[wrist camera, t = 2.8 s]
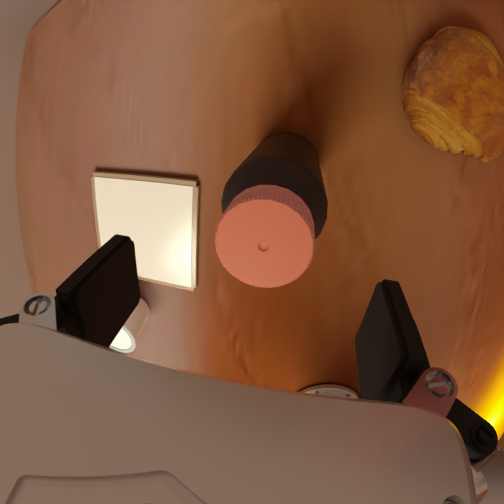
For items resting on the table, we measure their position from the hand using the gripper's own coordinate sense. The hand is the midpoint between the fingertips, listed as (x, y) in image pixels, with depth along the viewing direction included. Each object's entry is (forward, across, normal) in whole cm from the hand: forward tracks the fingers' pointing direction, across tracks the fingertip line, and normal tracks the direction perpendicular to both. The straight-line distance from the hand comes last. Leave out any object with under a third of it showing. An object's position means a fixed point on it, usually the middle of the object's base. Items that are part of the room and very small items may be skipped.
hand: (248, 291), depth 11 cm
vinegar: (+24, 0, 0) cm, 24 cm away
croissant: (+24, -18, -12) cm, 33 cm away
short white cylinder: (+24, +20, +25) cm, 40 cm away
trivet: (+24, +17, +11) cm, 31 cm away
